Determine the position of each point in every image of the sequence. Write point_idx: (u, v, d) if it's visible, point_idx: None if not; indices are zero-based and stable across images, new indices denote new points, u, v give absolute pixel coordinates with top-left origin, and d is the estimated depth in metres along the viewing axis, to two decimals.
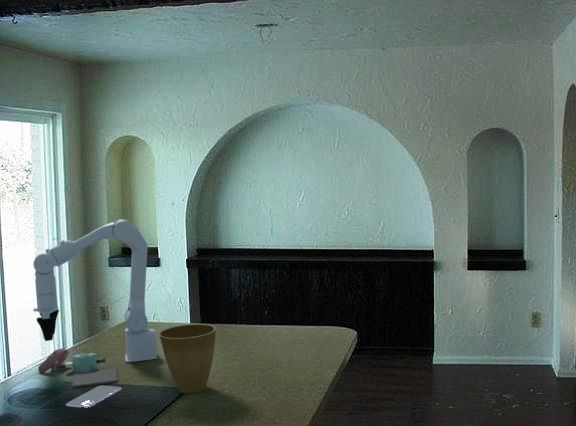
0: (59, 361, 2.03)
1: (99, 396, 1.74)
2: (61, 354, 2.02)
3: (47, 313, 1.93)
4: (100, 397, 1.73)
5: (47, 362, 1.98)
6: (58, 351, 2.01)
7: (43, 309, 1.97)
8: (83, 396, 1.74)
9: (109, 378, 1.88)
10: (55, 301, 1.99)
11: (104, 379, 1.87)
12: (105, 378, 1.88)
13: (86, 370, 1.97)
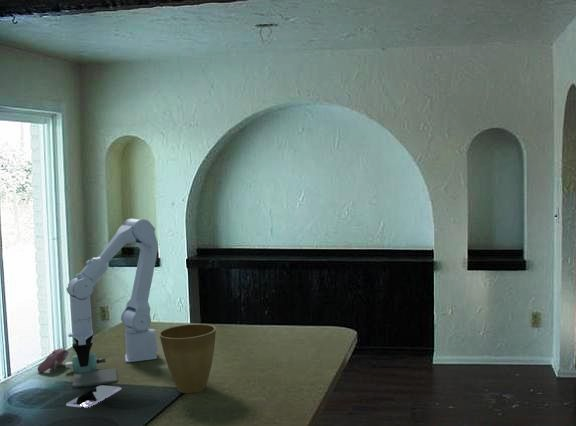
0: (58, 361, 2.03)
1: (99, 396, 1.74)
2: (60, 354, 2.02)
3: (83, 339, 1.91)
4: (100, 397, 1.73)
5: (46, 362, 1.98)
6: (57, 351, 2.01)
7: (78, 335, 1.95)
8: (83, 396, 1.74)
9: (109, 378, 1.88)
10: (90, 326, 1.98)
11: (104, 379, 1.87)
12: (105, 378, 1.88)
13: (86, 370, 1.97)
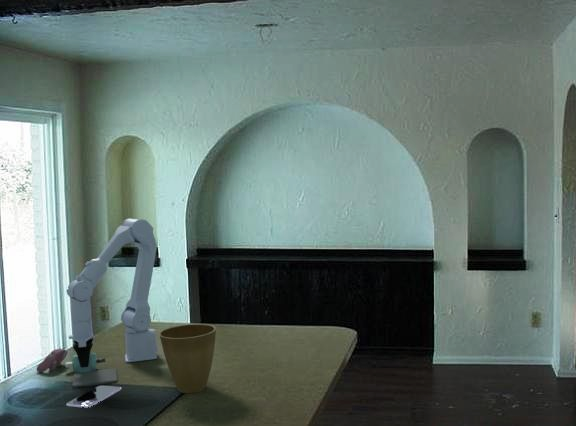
0: (57, 361, 2.03)
1: (99, 396, 1.74)
2: (59, 354, 2.02)
3: (84, 341, 1.92)
4: (100, 397, 1.73)
5: (45, 362, 1.98)
6: (56, 351, 2.01)
7: (79, 337, 1.95)
8: (83, 396, 1.74)
9: (109, 378, 1.88)
10: (90, 328, 1.98)
11: (104, 379, 1.87)
12: (105, 378, 1.88)
13: (86, 370, 1.97)
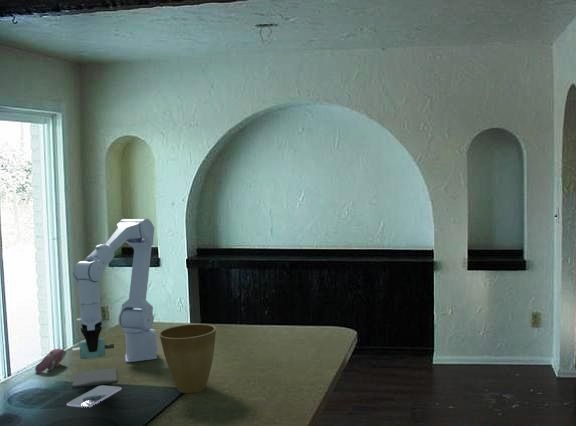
0: (56, 361, 2.03)
1: (99, 396, 1.74)
2: (58, 354, 2.02)
3: (92, 324, 1.82)
4: (101, 397, 1.73)
5: (44, 362, 1.98)
6: (55, 351, 2.01)
7: (87, 320, 1.86)
8: (83, 396, 1.74)
9: (109, 378, 1.88)
10: (99, 311, 1.88)
11: (104, 379, 1.87)
12: (105, 378, 1.88)
13: (94, 356, 1.88)
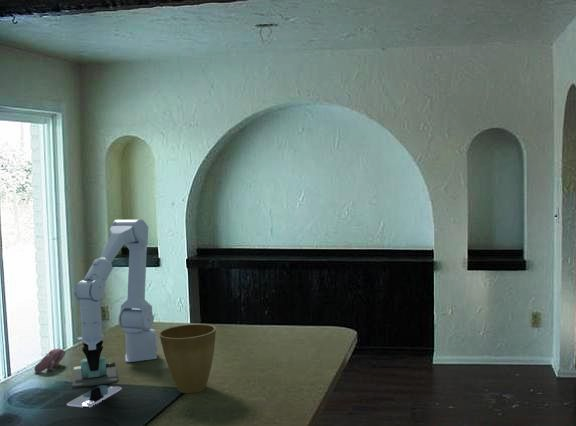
0: (55, 361, 2.03)
1: (100, 396, 1.74)
2: (57, 354, 2.02)
3: (94, 344, 1.83)
4: (101, 397, 1.73)
5: (43, 362, 1.98)
6: (54, 351, 2.01)
7: (88, 339, 1.87)
8: (84, 396, 1.74)
9: (109, 378, 1.88)
10: (100, 330, 1.89)
11: (104, 379, 1.87)
12: (105, 378, 1.88)
13: (95, 375, 1.88)
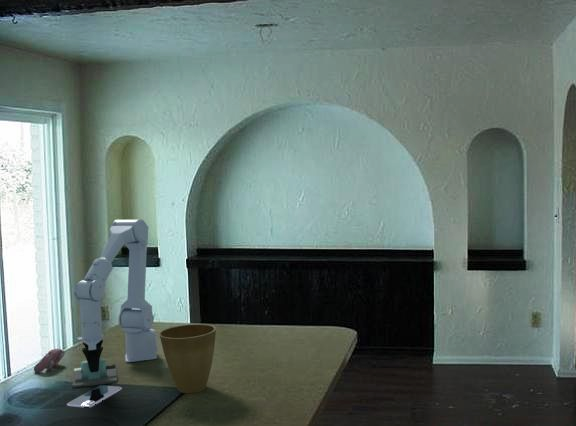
0: (54, 361, 2.03)
1: (100, 396, 1.74)
2: (56, 354, 2.02)
3: (94, 344, 1.83)
4: (101, 397, 1.73)
5: (43, 362, 1.98)
6: (53, 351, 2.01)
7: (88, 339, 1.87)
8: (84, 396, 1.74)
9: (109, 378, 1.88)
10: (100, 330, 1.89)
11: (104, 379, 1.87)
12: (105, 378, 1.88)
13: (95, 377, 1.88)
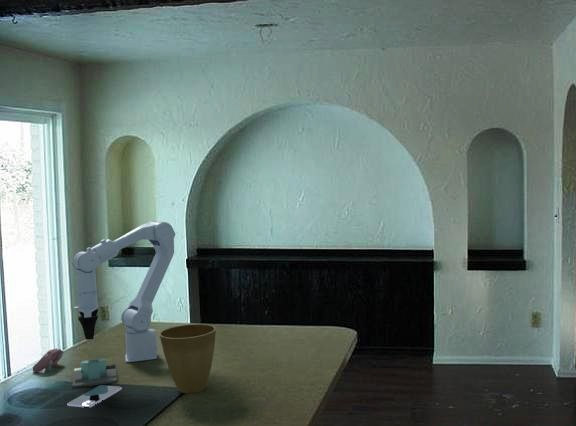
0: (53, 361, 2.03)
1: (100, 396, 1.74)
2: (55, 354, 2.02)
3: (89, 312, 1.92)
4: (101, 397, 1.73)
5: (41, 362, 1.98)
6: (52, 351, 2.01)
7: (84, 308, 1.96)
8: (84, 396, 1.74)
9: (109, 378, 1.88)
10: (96, 300, 1.99)
11: (104, 379, 1.87)
12: (105, 378, 1.88)
13: (95, 377, 1.88)
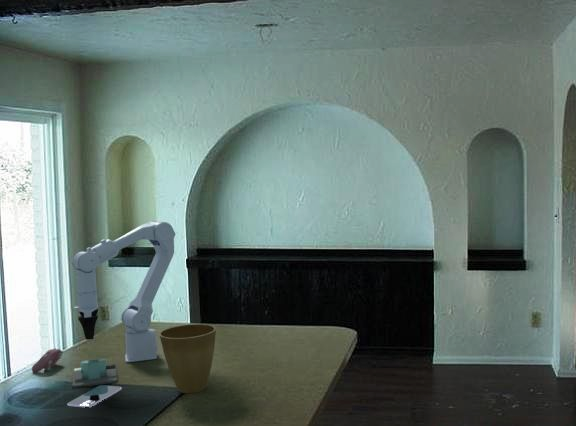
0: (52, 361, 2.03)
1: (100, 396, 1.74)
2: (54, 354, 2.02)
3: (89, 312, 1.92)
4: (101, 397, 1.73)
5: (41, 362, 1.98)
6: (51, 351, 2.01)
7: (84, 308, 1.96)
8: (84, 396, 1.74)
9: (109, 378, 1.88)
10: (96, 300, 1.99)
11: (104, 379, 1.87)
12: (105, 378, 1.88)
13: (95, 377, 1.88)
